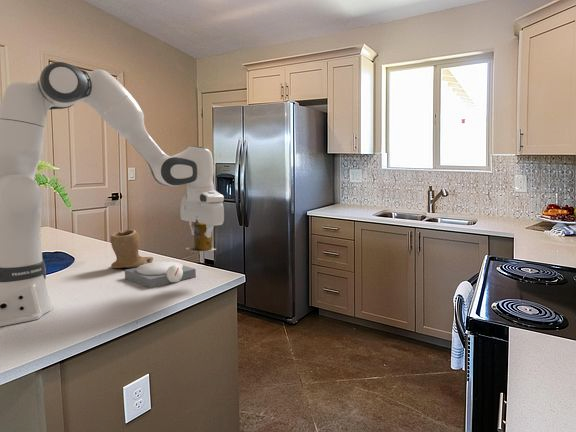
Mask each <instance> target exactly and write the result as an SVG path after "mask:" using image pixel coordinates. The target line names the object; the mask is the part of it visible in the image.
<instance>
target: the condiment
mask: <svg viewBox="0 0 576 432" xmlns="http://www.w3.org/2000/svg"><path fill="white" fill-rule="evenodd" d="M206 230H207V228H206V224H202V223H198V220H197V219H196V222H195V223H194V235H193V236H194V242H193V243H194V246H193V247H185V249H186V250H188V251H189V252H192V253H197V252H208V251H216V250H217V248H214V247H213V231H212V232H211V237H210V238H207V237H205V234H204V232H206Z"/></svg>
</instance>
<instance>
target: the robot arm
mask: <svg viewBox="0 0 576 432" xmlns="http://www.w3.org/2000/svg"><path fill="white" fill-rule="evenodd" d="M78 102H83V103H84V104H87V105H89V106H90V107H92V109H94V110H95V111H96V113H97V114H98V115H99V116H100V117H101V119H103V121H104V122H105V123H106V124H107V125H108V126H109V127H111V128H112V129H113V130H114V131H116V133H117V134H119V135H120V136H122V137H123V138H124V139H125V140H126V141H128V142H129V143H130V144H131V145H132V147H134V149H135V151H137V152H138V153H139V154H140V156H141V157H142V158H143V160H144V161H145V162H146V163H147V165H148V166H149V170H150V172H151V175H152V177H153V179H154V180H155V181H156V183H157V184H159V185H161V186H163V187H164V186H165V187H170V186H171V187H180V186H183V185H186V193H185V194H184V196H183V197H182V200H181V203H180V213H179V214H180V215H179V216H180V219H181V220H182V221H186V222H189V223H188V225H189V227H190V230H191V235H193V236H194V223H195V222H196V219H197V220H198V223H202V224H206V228H207V230H206V232H204V234H205V237H207V238H210V237H211V232H212V233H213V230H214V227H215V226H222V225H223V224H224V222H225V207H224V204H223V202H224V199H225V198H224V195H223V194H221V193H220V192H219V191H217V190H215V184H214V181H213V179H214V174H215V173H214V170H215V169H214V167H215V166H214V157H213V154H212V151H211V150H209V148H206V147H203V146H196V145H190V146H188V148H186V149H185V150H183V151H181V152H179V153H177V154H173V155H168V154H167V153H166V152H164V151H163V150H162V149H161V148H160V146H159V145H158V144H157V143H156V142H155V140H154V139H153V138H152V137H151V136H150V134H149V133H148V131H147V128H146V126H145V115H144V112H143V109H142V108H141V107H140V104H139V103H138V102H137V100H136V99H135V98H134V97H133V96H132V94H131V93H130V92H129V91H128V89H127V88H126V87H125V86H124V85H122V84H121V82H119V80H117V79H116V78H115V77H114V76H113V75H112V74H111V73H109V72H108V71H106V70H103V69H94V70H92V71H89V72H88V71H86V70H83V69H81V68H78V67H77V66H75V65H72V64H70V63H68V62H63V61H56V62H51V63H50V64H48V65H46V66H45V67H44V68H43V69H42V71H41V73H40V76H39V78H38V80H36V81H35V82H33V83H31V82H30V83H29V82H25V81H19V82H18V81H16V82H12V83H10V84H9V85H7V86H6V88H5V90H4V93H3V95H2V99H1V103H0V327H4V326H9V325H10V326H11V325H14V324H15V325H16V324H19V323H24V322H25V323H26V322H31V321H36V320H38V319H40V318H41V317H43V316H44V315H45V314H47V313H49V312H50V311H51V310H52V309H53V308H54V307H53V306H54V305H53V303H52V300H51V299H50V298H51V297H50V296H49V292H48V288H47V284H46V278H47V269H46V264H45V260H44V259H43V249H42V237H41V236H42V235H41V232H42V231H41V228H42V227H41V226H42V216H43V215H42V214H43V200H44V193H43V190H42V188H41V186H40V184H39V183H38V182H37V181H36V180H35V178H36V173H37V170H38V167H39V166H38V165H39V163H40V161H41V157H42V155H43V149H44V148H43V147H44V138H45V132H46V131H45V130H46V121H47V115H48V113H49V110H62V109H63V110H64V109H68V108H71V107H73V106H74V105H75V104H77V103H78Z"/></svg>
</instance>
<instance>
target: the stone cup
mask: <svg viewBox="0 0 576 432" xmlns="http://www.w3.org/2000/svg"><path fill="white" fill-rule="evenodd" d="M109 241H110V244H111V248H112V250H113V253H114V254H115V256H116V260H114V261H113V262H112V263H111V267H112V268H114V269H125V268H126V269H127V268H128V269H131V268H137V267H139V266H141V265H144V264H148V263H153V261H154V257H153V256H141V255H140V254H139V253H140V252H139V249H140V236H139V233H138V232H137V230H135V229H126V230H124V231H123V230H120V231H119V230H118V231H115V232H114V233H112V234H111V235H110V240H109Z"/></svg>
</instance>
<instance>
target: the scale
mask: <svg viewBox="0 0 576 432" xmlns="http://www.w3.org/2000/svg"><path fill="white" fill-rule="evenodd" d="M196 271H197V270H196V268H194V267H190V266H187V265H184V264H182V263H181V262H178V261H170V260H169V261H167V260H166V261H154V262H153V261H152V263H148V264H144V265H141V266H139V267H131V268H128V269H127V268H126V269H124V278H125V279H127V280H129V281H132V282H134V283H137V284H139V285H143V286H144V287H147V288H149V289H152V288H157V287H160V286H161V287H162V286H164V285H168V284H172V283H177V282H181V281H185V280H189V278H190V279H193V277H194V278H196V277H197V274H196V273H197V272H196Z"/></svg>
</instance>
